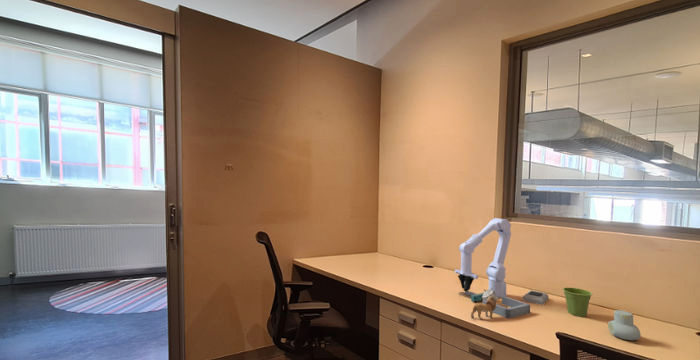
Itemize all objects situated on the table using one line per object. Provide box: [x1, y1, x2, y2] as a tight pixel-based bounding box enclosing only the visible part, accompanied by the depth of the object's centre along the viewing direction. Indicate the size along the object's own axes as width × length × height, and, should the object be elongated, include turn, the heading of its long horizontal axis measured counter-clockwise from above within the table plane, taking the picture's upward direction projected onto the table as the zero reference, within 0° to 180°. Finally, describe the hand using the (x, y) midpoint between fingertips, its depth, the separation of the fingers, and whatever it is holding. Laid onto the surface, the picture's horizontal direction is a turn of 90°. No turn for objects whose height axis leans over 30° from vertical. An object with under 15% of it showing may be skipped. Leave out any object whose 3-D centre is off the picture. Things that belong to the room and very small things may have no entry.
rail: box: [458, 291, 471, 300], centre depth 173 cm, size 3×10×1 cm, turn 29°
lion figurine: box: [470, 296, 497, 321], centre depth 143 cm, size 15×5×9 cm, turn 116°
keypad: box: [522, 289, 549, 306], centre depth 172 cm, size 10×4×15 cm
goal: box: [481, 296, 531, 319], centre depth 153 cm, size 17×14×4 cm
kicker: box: [463, 281, 483, 303], centre depth 171 cm, size 11×11×8 cm
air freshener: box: [607, 309, 642, 341], centre depth 127 cm, size 11×8×10 cm
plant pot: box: [562, 287, 593, 318], centre depth 151 cm, size 12×12×11 cm
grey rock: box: [482, 288, 500, 303], centre depth 161 cm, size 9×8×10 cm
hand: (465, 288), depth 174 cm, fingers closed on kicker, 2 cm apart
